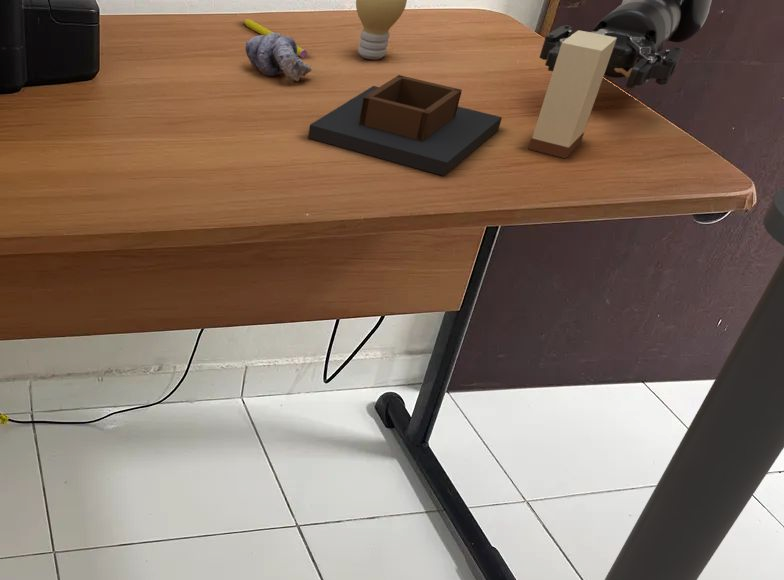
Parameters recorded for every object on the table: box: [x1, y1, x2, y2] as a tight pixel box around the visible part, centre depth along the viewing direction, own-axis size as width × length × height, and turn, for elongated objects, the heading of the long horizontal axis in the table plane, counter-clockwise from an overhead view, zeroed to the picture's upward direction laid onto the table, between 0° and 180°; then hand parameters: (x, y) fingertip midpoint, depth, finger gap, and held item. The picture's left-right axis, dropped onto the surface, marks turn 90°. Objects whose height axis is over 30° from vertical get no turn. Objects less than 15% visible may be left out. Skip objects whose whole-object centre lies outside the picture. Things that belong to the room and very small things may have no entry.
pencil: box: [243, 18, 308, 59], centre depth 125 cm, size 16×1×1 cm, turn 25°
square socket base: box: [307, 74, 503, 177], centre depth 100 cm, size 16×16×4 cm
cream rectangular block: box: [527, 29, 617, 159], centre depth 96 cm, size 4×6×11 cm
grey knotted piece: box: [245, 31, 313, 82], centre depth 113 cm, size 5×5×10 cm
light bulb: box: [355, 0, 407, 60], centre depth 118 cm, size 6×6×10 cm
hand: (592, 70), depth 99 cm, fingers open, 8 cm apart
